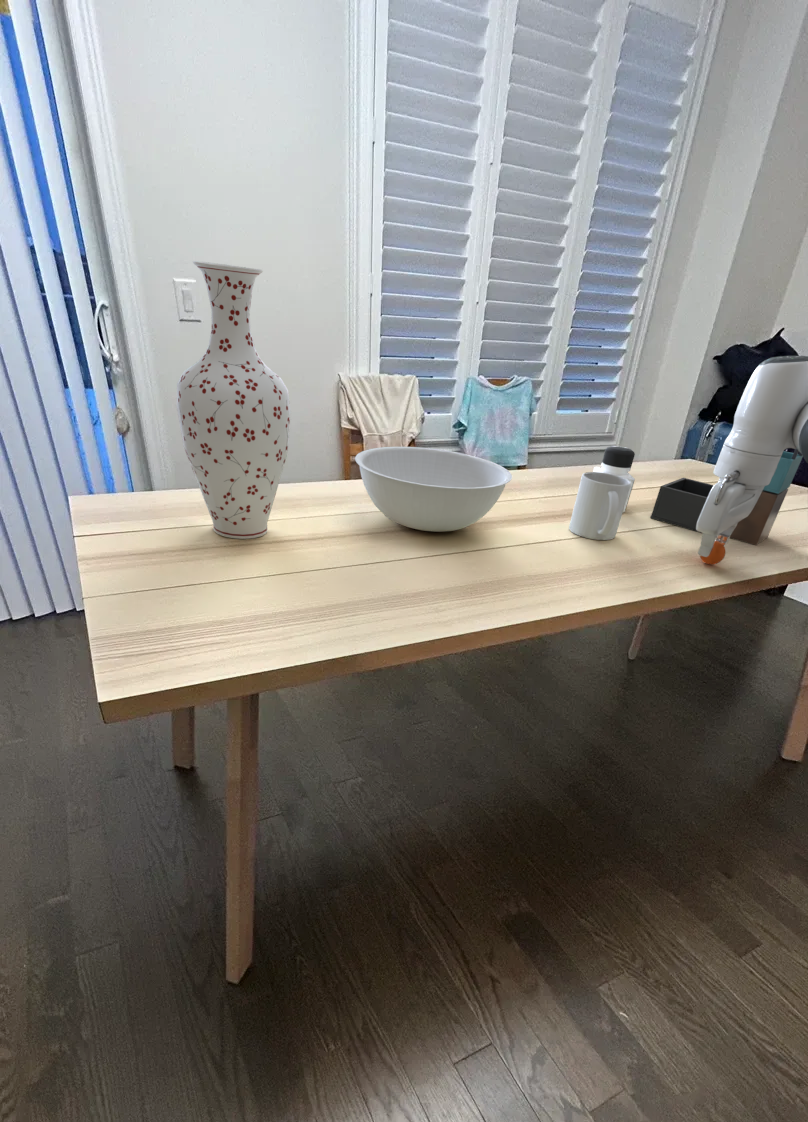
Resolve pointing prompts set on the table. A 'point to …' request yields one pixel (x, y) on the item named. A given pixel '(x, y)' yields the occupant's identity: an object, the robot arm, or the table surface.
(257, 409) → the vase
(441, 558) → the table surface
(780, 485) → the box
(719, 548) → the ball
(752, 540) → the stand
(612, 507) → the mug
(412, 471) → the bowl
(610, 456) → the medicine bottle
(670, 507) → the basket
